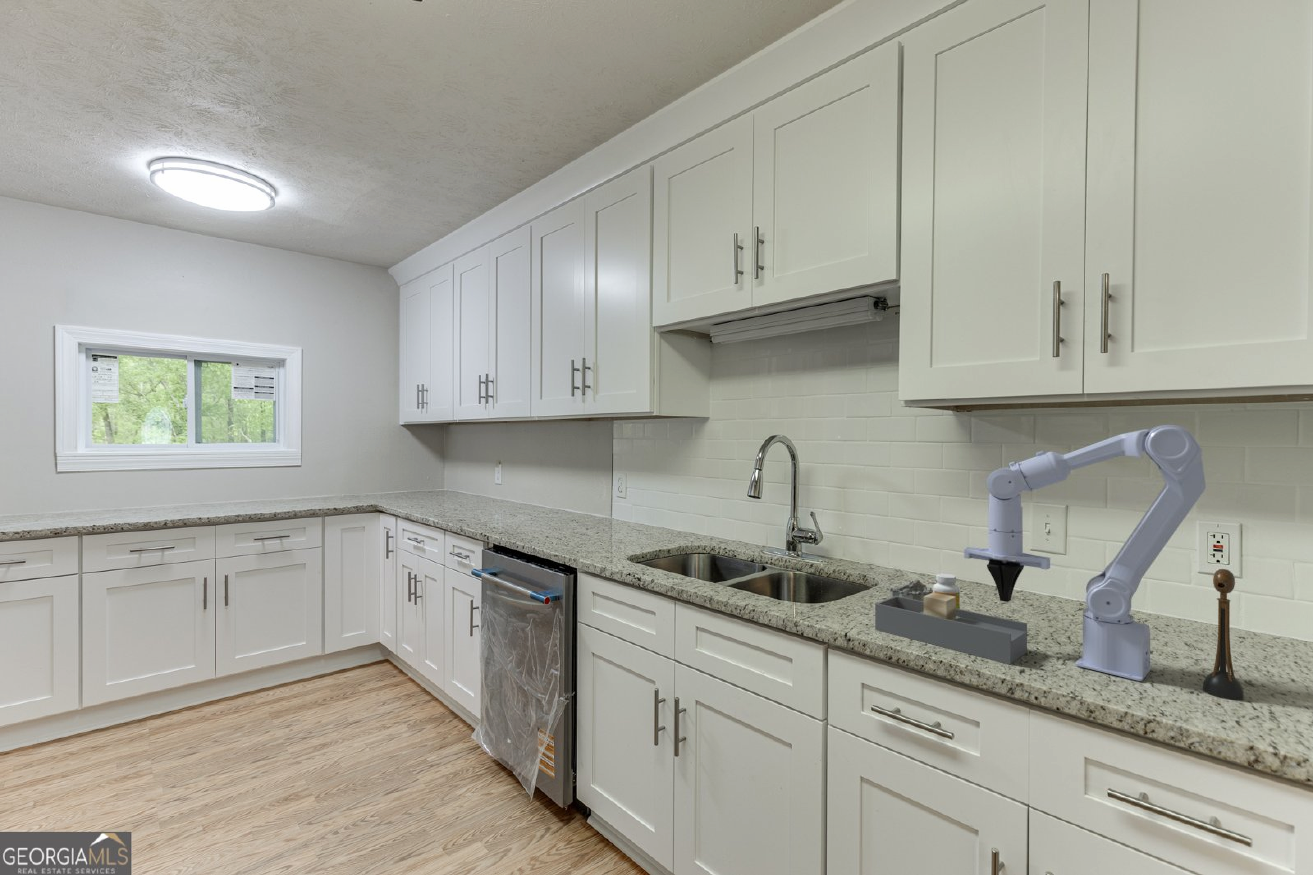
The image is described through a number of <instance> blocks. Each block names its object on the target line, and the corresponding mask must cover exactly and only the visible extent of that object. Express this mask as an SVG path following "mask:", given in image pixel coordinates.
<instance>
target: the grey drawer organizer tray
mask: <svg viewBox="0 0 1313 875" xmlns="http://www.w3.org/2000/svg"><path fill="white" fill-rule="evenodd" d="M874 609H875V611H874V613H875V614H874V617H875V618H874V619H875V620H874V622H875V623H874V624H875V628H874V630H876V631H879V632H883V633H887V634H891V635H895V636H899V637H902V638H907V639H910V640H915V641H919V642H922V643H925V644H930V645H934V646H937V647H940V648H941V647H942V648H945V649H949V650H953V651H957V652H960V653H964V654H967V655H968V654H969V655H972V656H976V657H980V658H983V659H988V660H991V661H993V662H998V663H1002V664H1006V665H1012V664H1013V663H1015V661H1017V660H1018V659H1020V658H1022V656H1024V655H1025V654H1026V653H1028V623H1027V622H1022V621H1018V620H1012V619H1008V618H1003V617H998V616H994V615H989V614H984V613H980V612H975V611H970V610H965V609H956V619H955V620H948V619H944V618H940V617H935V616H931V615H926V614H924V602H923V601H918V600H914V599H909V598H904V597H899V596H894V597H891V598H890V597H889V598H886V599H883V600H882V601H879V602H876V603H875V607H874Z"/></svg>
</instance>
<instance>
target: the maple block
mask: <svg viewBox="0 0 1313 875" xmlns="http://www.w3.org/2000/svg"><path fill="white" fill-rule="evenodd" d="M924 614H926V615H931V616H935V617H940V618H944V619H948V620H955V619H956V597H954V596H949V595H944V594H939V593H934V592H933V593H931V594H928V595H926V596H924Z"/></svg>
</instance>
